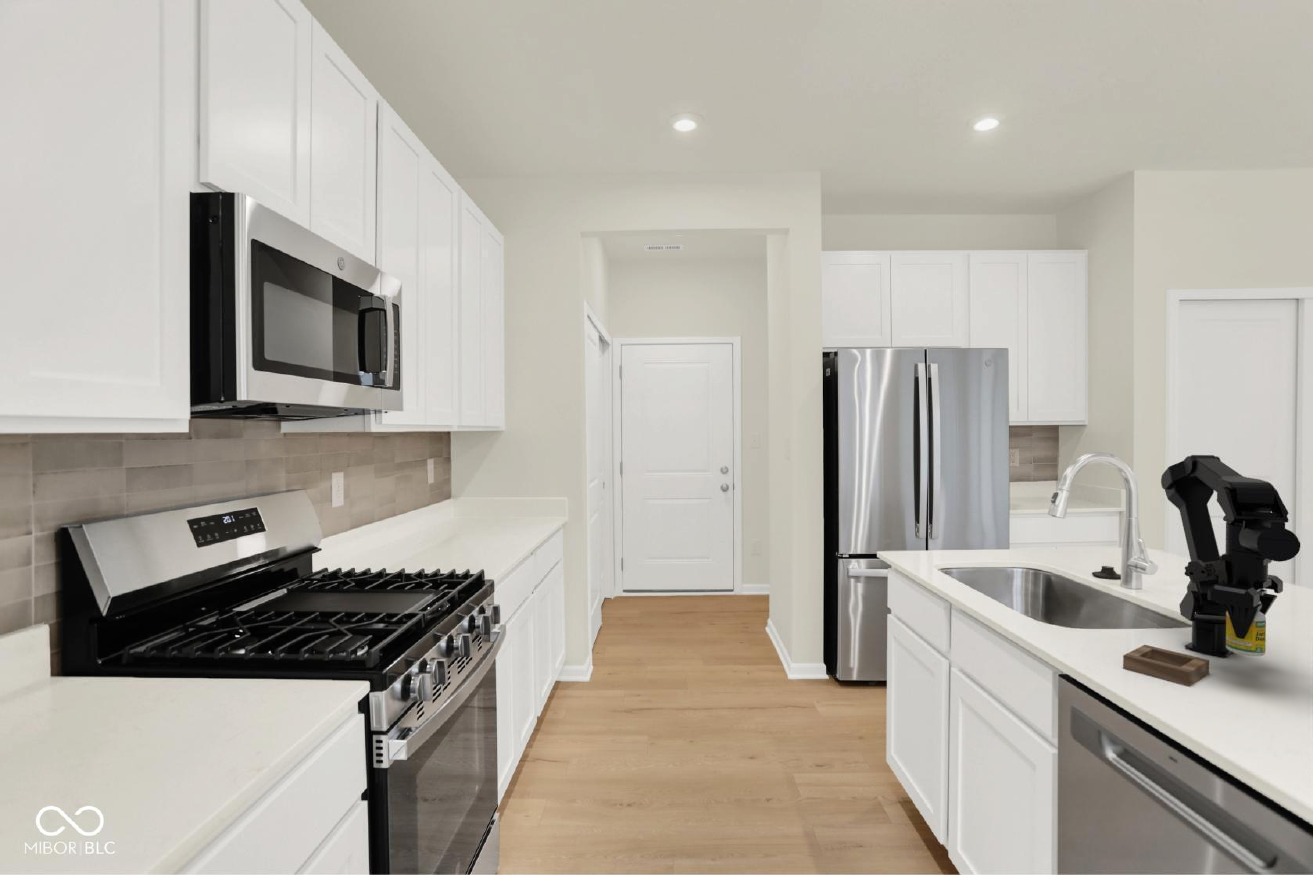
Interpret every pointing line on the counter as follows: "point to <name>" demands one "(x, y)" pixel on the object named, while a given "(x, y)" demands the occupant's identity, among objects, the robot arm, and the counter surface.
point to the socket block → (1166, 664)
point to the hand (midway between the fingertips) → (1245, 634)
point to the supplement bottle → (1248, 637)
